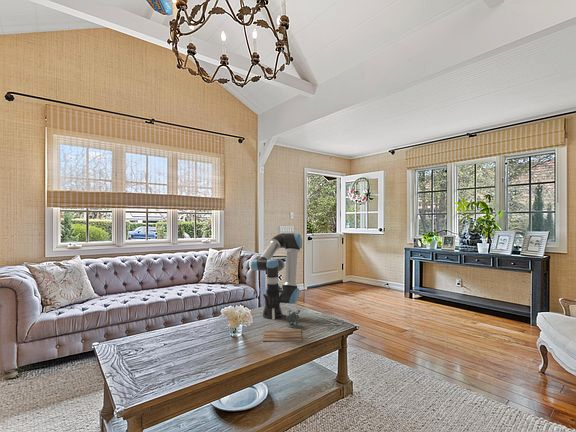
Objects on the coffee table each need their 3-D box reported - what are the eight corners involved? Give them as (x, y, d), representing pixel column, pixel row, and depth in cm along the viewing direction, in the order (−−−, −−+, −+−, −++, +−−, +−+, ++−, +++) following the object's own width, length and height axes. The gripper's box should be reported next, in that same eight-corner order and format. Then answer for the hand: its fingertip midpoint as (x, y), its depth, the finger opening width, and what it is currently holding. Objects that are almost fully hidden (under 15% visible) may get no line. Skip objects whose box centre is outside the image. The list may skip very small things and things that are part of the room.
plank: (264, 331, 207) (264, 329, 207) (300, 330, 207) (300, 328, 207) (263, 336, 198) (263, 335, 198) (301, 336, 199) (301, 334, 199)
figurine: (302, 329, 211) (301, 311, 211) (286, 329, 211) (286, 311, 211) (301, 323, 222) (301, 306, 222) (286, 323, 222) (286, 307, 222)
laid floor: (263, 337, 198) (263, 335, 198) (301, 336, 198) (301, 334, 198) (262, 342, 189) (262, 340, 189) (302, 342, 190) (302, 339, 190)
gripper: (262, 284, 200) (263, 321, 200) (282, 284, 200) (283, 320, 200) (263, 282, 207) (263, 317, 208) (282, 281, 207) (283, 316, 208)
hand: (273, 318), depth 204 cm, fingers closed
